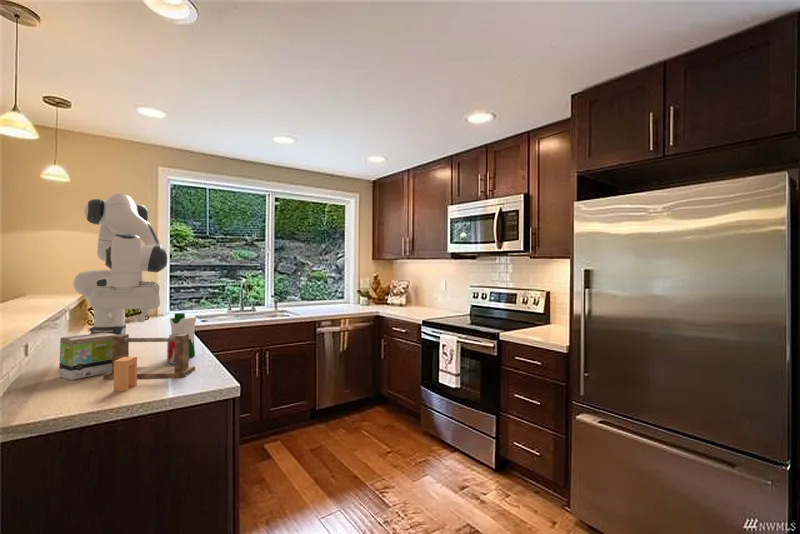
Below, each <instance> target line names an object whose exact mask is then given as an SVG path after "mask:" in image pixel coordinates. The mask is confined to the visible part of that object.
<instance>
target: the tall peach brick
mask: <svg viewBox="0 0 800 534" xmlns="http://www.w3.org/2000/svg"><path fill="white" fill-rule="evenodd" d="M137 367H138V357H137V356H128V357H123V358H121V359H118V360H116V361H114V379H113V392H127V391H129V387H136V386H137V383H138V382H137V381H138V378H137Z"/></svg>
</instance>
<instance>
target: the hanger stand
mask: <svg viewBox="0 0 800 534" xmlns="http://www.w3.org/2000/svg"><path fill="white" fill-rule="evenodd" d="M129 336H130V335H129V333H126V334H119V335H116V336H113V337H112V371H111V372H108V373H105V374H102V376H103V377H102V378H103V380H106V379H107V378H114V361H116V360H118V359H121V358H123V357H130V356H129V355H130V353H129V350H130V349H129V346H130V345H129V343H168V342H175V364H174V366H137V379H151V378H150V377H168V378H185V377H187V376H188V375H190V374H191V373H192V371H193V372H194V371H196V366H195V365H190V366H189V364H190V363H189V361H190V360H189V359H190V357H189V334H179V335H177V336H175V338H169V337H129ZM186 375H187V376H186ZM104 378H106V379H104ZM107 380H108V379H107Z"/></svg>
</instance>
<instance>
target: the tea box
mask: <svg viewBox="0 0 800 534" xmlns="http://www.w3.org/2000/svg"><path fill="white" fill-rule="evenodd" d="M113 336H116V334H111V333H97V334H90V333H89V334H81V335H80V334H79V335H73V336H72V335H71V336H66V337H65V336H64V337H60V340H59V341H60V343H59V344H60V345H59V364H58V365H59V367H58V368H59V369H58V376H59V377H61V378H62V379H66V380H69V381H75V380H78V379H82V378H88V377H94V376H98V375H104V374H106V373H108V372H111V371H112V337H113Z"/></svg>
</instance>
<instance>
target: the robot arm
mask: <svg viewBox="0 0 800 534" xmlns="http://www.w3.org/2000/svg"><path fill="white" fill-rule="evenodd" d="M84 215H85V218H86V221H87V222H89V223H90V224H93V225H100V227H99V231H98V232H99V233H98V240H97V253H96V254H97V258H99V259H100V260H101V261H103V262H104V263H105V264H104V265H105V266H106V267H107V268H109V269H110V270H107V269H106V270H101V269H100V270H96V269H95V270H93V269H92V270H87V271H82V272H81V271H80V272H79V273H78V274H76V276H75V277H74V279H73V288H74V289H75V291H76V293H78V294H80V295H81V296H83V297H84V298H85V299H86V300H87V301H88V302H89V303H90V307H92V309H93V316H94V317H93V318H94V320H93V321H94V324H93V325H94V326H92V327H90V328H88V329H87V332H89V334H97V333H111V334H116V335H119V334H127V325H126V310H129V309H130V310H132V309H133V310H135V309H136V310H140V312H141V314H140V316H137V323H145V322H146V321H145V320H146V316H147V314H148V313H149V310H153V309H158V308H160V306H161V299H160V285H159V284H158V282H157V283H156V282H155V281H144V278H143V272H148V273H159V272H161V271H162V270H164V269H165V268H166V267H167V265H168V264H167V263H168V254H167V251H166V250H165V248H164V246H163V245H162V244H161V242H160V240H159V238H158V236H157V234H156V232H155V229H154V228H153V226H152V225H151V223H150V222H149V220H150V214H149V211H148V208H147V207H146V206H145V205H142V204H140V203H137V204H136V203H135V201H134V200H133V198H132V197H131V196H129V195H127V194H125V193H114V194H112V195H111V196H109V197H108V199H100V198H96V199H95V198H94V199H91V200H89V201H87V203H86V204H85V207H84ZM142 242H143V243H144V244H142Z"/></svg>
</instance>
